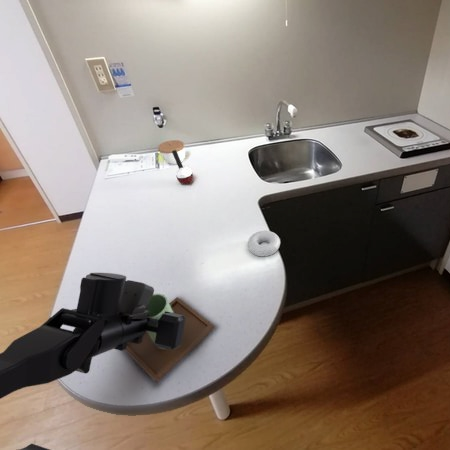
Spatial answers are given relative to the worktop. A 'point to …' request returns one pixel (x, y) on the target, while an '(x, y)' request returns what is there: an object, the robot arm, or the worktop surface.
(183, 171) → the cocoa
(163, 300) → the green cup
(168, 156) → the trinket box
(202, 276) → the worktop surface
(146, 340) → the serving tray
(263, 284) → the worktop surface
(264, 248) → the donut
